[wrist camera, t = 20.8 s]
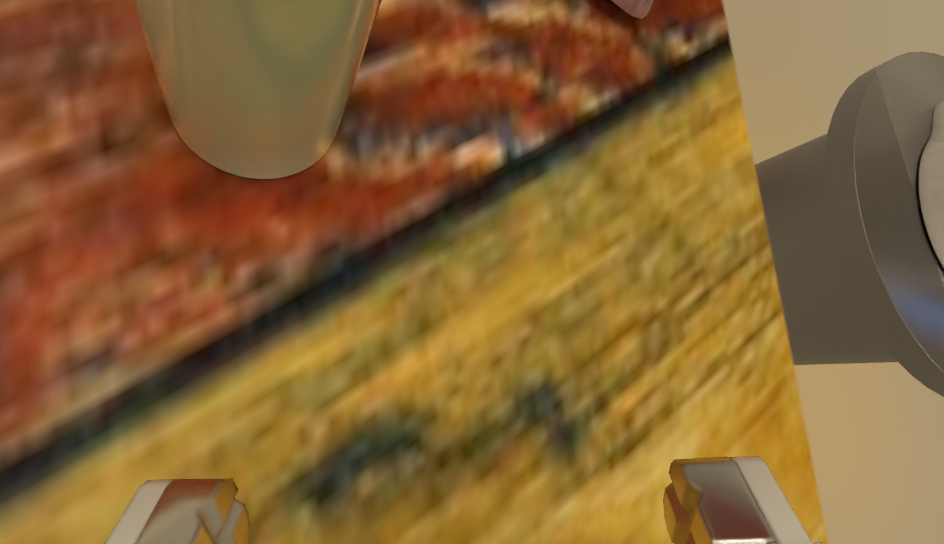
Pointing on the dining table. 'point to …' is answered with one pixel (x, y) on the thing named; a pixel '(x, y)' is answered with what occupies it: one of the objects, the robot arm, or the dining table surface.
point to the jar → (256, 76)
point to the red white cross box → (635, 7)
